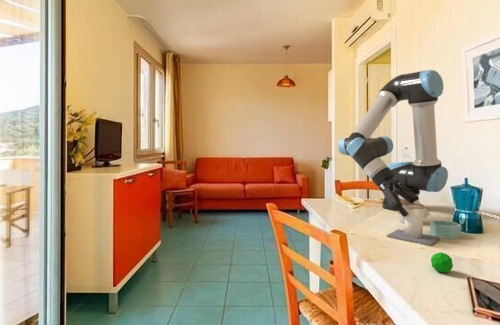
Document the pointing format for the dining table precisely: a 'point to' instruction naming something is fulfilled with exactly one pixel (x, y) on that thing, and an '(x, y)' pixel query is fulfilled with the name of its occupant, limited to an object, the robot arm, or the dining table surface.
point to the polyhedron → (441, 262)
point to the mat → (424, 240)
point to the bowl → (445, 229)
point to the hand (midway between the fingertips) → (421, 220)
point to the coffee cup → (414, 190)
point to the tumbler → (417, 228)
